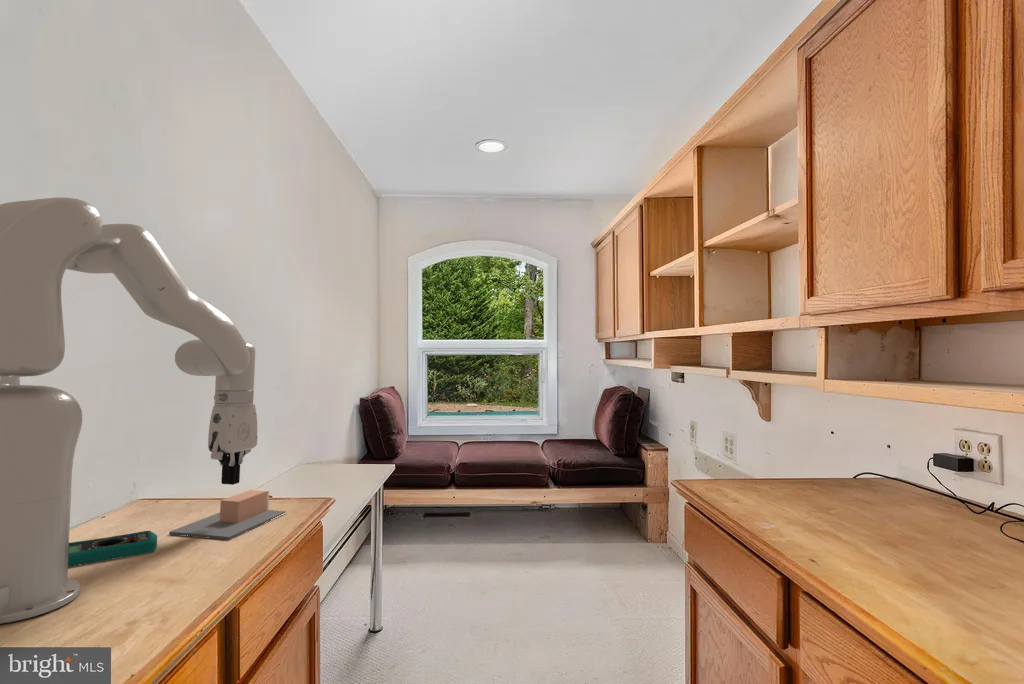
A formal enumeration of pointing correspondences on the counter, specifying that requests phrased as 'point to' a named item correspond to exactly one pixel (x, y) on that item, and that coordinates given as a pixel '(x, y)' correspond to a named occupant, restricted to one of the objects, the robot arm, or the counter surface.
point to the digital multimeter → (111, 547)
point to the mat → (224, 526)
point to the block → (244, 505)
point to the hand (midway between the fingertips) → (230, 483)
